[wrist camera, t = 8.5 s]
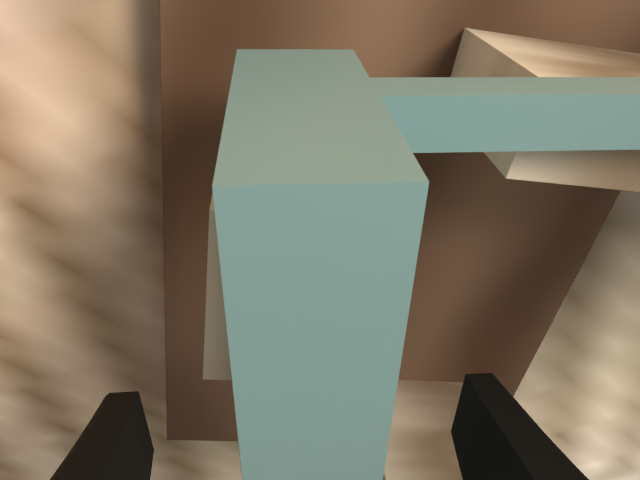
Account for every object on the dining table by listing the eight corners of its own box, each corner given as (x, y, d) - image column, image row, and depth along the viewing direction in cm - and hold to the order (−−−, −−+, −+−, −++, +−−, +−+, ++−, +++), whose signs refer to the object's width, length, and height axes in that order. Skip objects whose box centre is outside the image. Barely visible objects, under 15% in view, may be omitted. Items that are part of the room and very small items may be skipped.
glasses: (711, 50, 11) (1052, 169, 6) (544, 441, 19) (642, 632, 14) (234, 49, 11) (207, 186, 6) (261, 459, 18) (260, 670, 13)
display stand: (689, -27, 14) (915, 14, 9) (476, 416, 25) (530, 549, 20) (168, -120, 12) (101, -131, 7) (172, 409, 22) (146, 556, 17)
